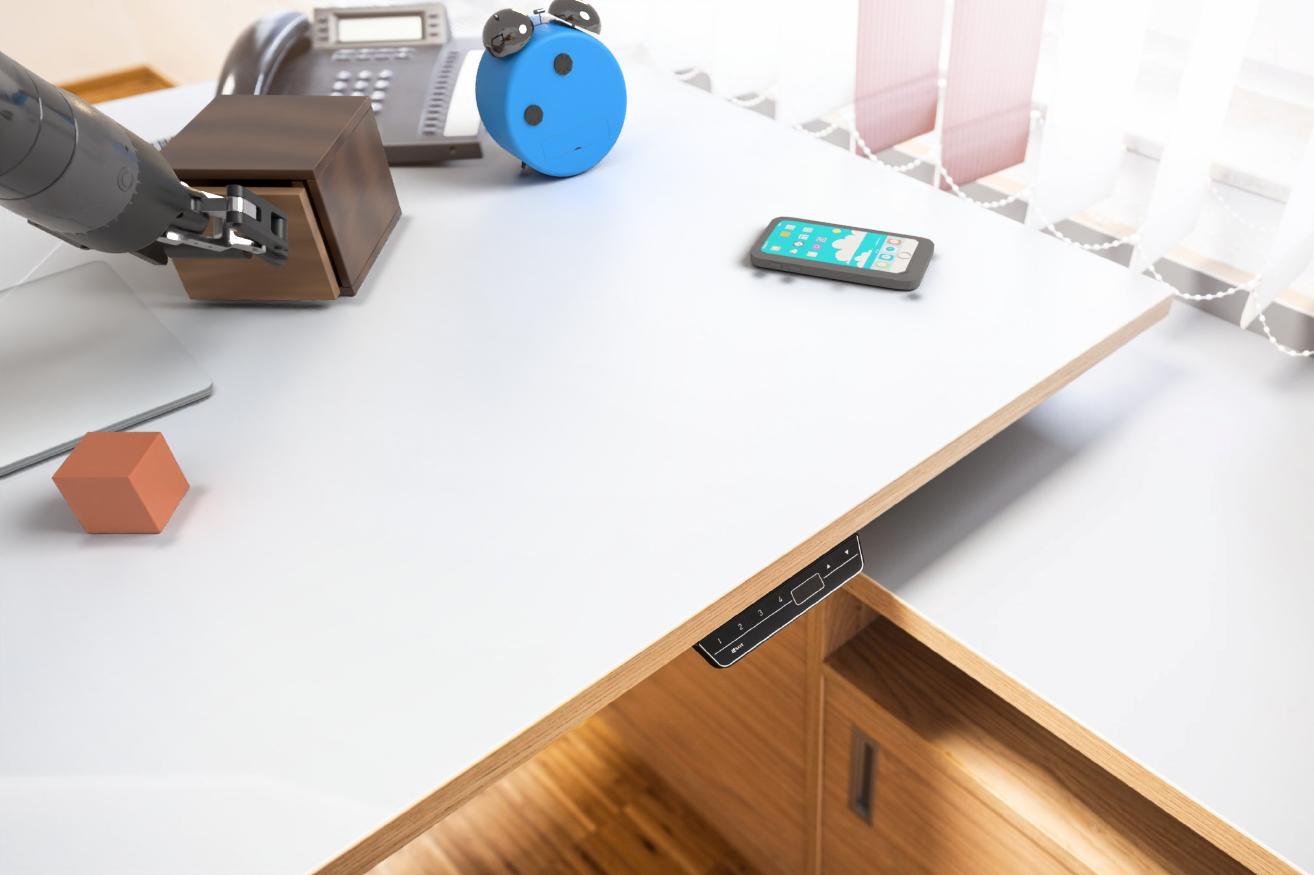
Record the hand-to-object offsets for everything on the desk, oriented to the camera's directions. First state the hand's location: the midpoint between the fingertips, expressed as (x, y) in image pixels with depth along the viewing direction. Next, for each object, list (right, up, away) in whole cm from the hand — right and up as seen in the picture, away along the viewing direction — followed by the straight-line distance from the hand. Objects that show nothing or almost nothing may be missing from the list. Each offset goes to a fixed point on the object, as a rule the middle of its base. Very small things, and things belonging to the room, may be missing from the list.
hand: (221, 252), depth 77 cm
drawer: (0, +1, +9) cm, 9 cm away
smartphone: (+46, +4, +15) cm, 48 cm away
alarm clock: (+18, +16, +27) cm, 36 cm away
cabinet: (-1, +4, +13) cm, 14 cm away
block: (+1, -19, -11) cm, 22 cm away
